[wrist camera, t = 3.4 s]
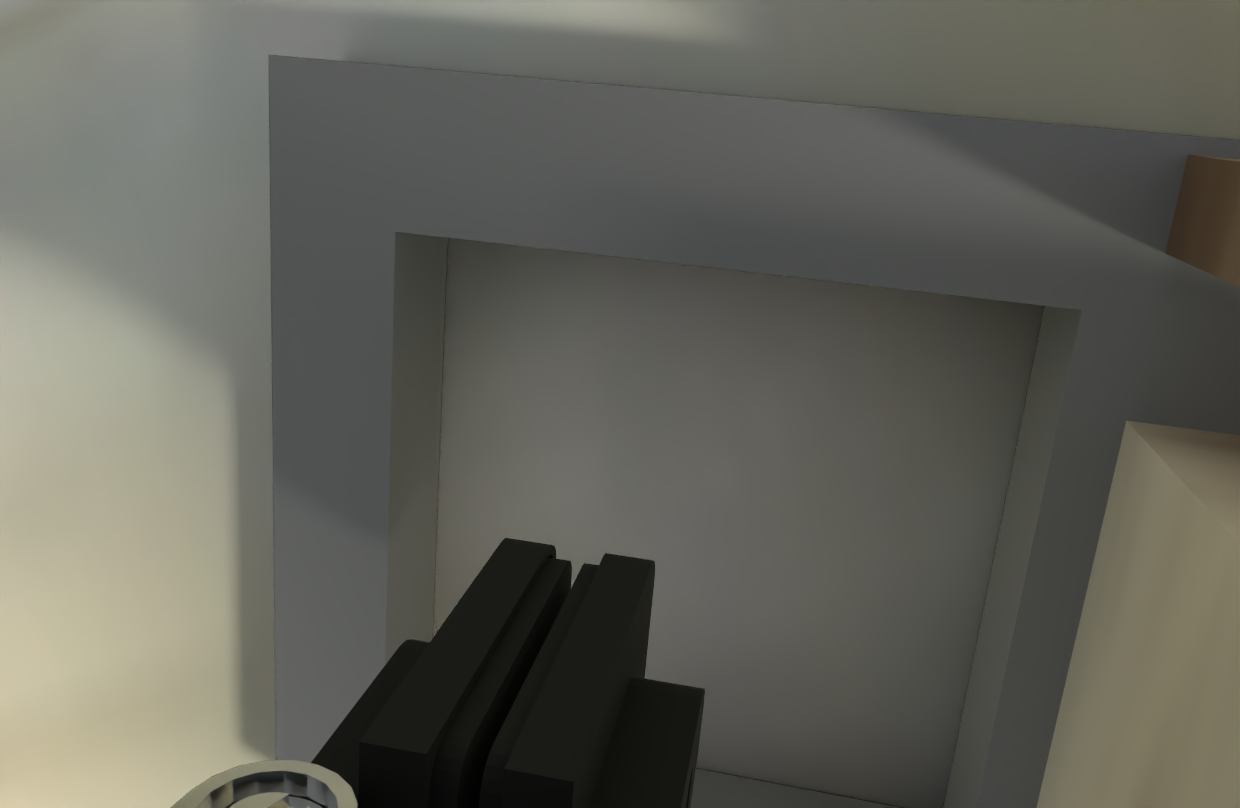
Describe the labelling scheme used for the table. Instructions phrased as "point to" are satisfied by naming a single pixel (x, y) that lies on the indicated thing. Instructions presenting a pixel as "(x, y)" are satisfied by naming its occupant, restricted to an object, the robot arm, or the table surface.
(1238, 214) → the tunnel walls
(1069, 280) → the deck
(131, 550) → the table surface
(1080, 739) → the maple block
